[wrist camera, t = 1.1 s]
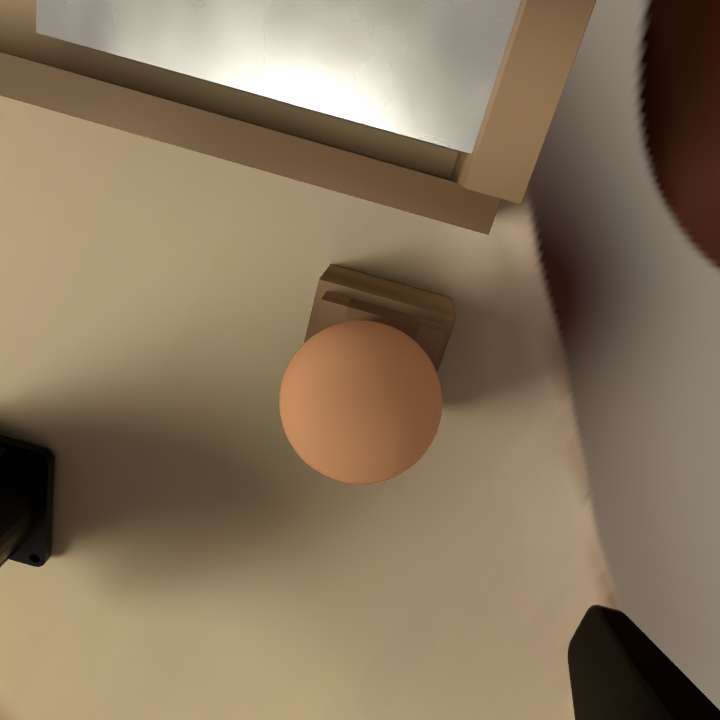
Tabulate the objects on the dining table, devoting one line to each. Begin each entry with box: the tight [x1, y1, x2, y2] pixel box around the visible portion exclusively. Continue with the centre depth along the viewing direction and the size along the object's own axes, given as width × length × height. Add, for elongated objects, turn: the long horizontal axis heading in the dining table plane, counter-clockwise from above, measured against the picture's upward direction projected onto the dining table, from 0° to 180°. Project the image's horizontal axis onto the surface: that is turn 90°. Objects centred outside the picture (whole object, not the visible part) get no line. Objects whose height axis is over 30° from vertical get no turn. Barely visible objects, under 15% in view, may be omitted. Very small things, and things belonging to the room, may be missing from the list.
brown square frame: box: [304, 264, 456, 372], centre depth 17 cm, size 4×4×3 cm
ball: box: [279, 321, 442, 484], centre depth 14 cm, size 4×4×4 cm
